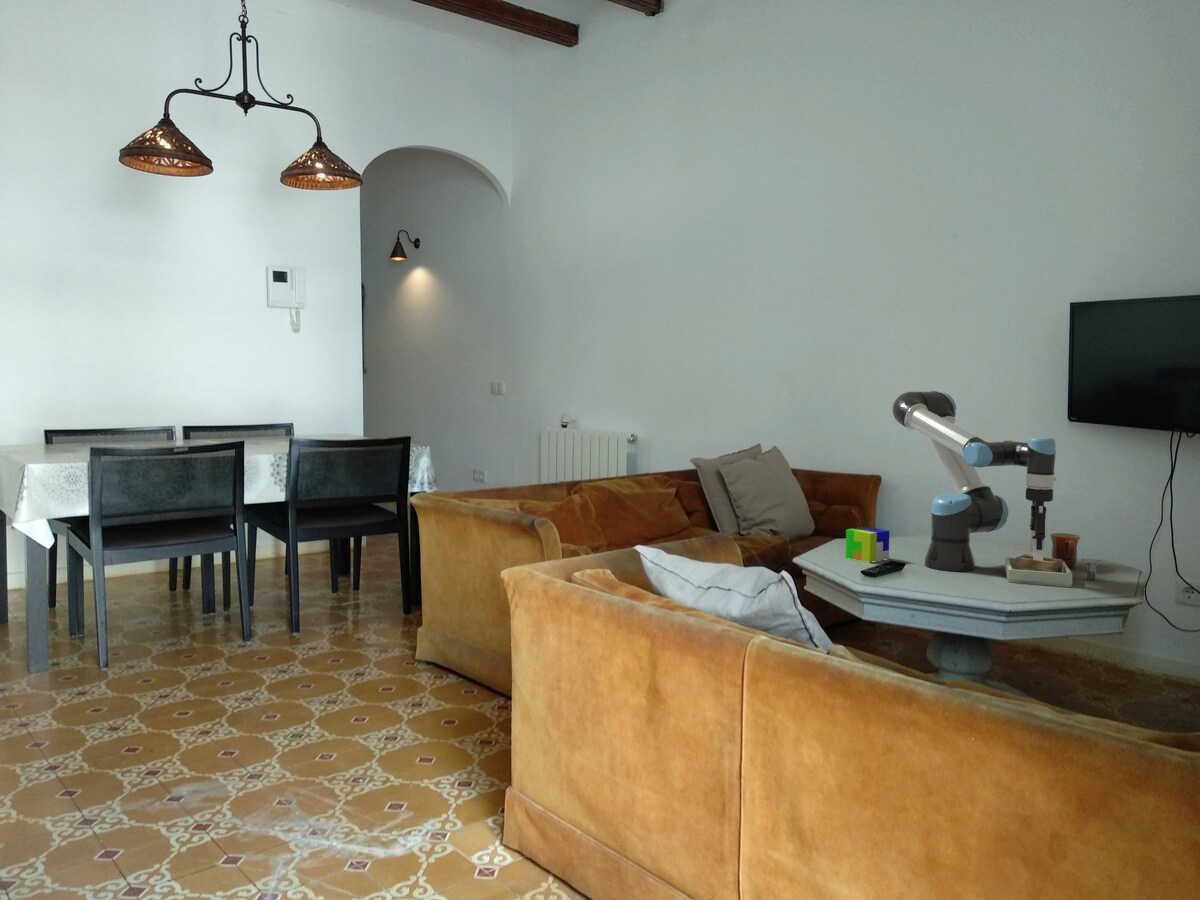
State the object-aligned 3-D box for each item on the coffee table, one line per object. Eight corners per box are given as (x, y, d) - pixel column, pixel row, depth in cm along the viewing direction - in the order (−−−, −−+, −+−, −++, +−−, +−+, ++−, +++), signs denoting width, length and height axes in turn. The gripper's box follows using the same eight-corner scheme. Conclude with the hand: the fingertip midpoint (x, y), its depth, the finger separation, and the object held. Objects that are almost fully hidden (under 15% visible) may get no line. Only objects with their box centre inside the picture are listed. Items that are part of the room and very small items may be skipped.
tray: (1008, 582, 261) (1008, 569, 261) (1004, 568, 279) (1004, 557, 279) (1071, 587, 255) (1072, 574, 254) (1063, 573, 273) (1064, 561, 273)
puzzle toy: (888, 559, 294) (889, 530, 293) (869, 563, 288) (870, 533, 288) (864, 555, 302) (865, 526, 301) (845, 558, 297) (846, 529, 296)
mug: (1045, 563, 289) (1046, 532, 288) (1073, 564, 287) (1075, 533, 286) (1056, 570, 277) (1057, 538, 276) (1086, 571, 275) (1087, 539, 274)
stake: (1081, 580, 263) (1082, 558, 263) (1080, 578, 265) (1081, 557, 265) (1101, 581, 261) (1102, 560, 261) (1100, 580, 263) (1101, 558, 263)
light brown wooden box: (1061, 575, 266) (1062, 559, 266) (1052, 579, 261) (1053, 563, 261) (1024, 569, 274) (1025, 554, 274) (1015, 573, 269) (1015, 557, 268)
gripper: (1058, 493, 253) (1054, 565, 255) (1049, 483, 276) (1045, 549, 278) (1029, 492, 256) (1025, 562, 258) (1023, 482, 279) (1019, 547, 281)
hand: (1036, 555), depth 268 cm, fingers open, 13 cm apart
